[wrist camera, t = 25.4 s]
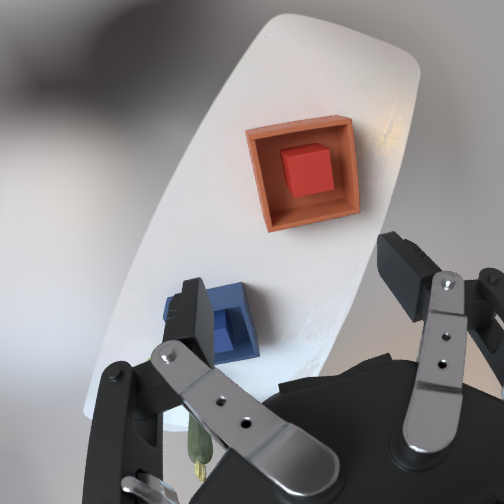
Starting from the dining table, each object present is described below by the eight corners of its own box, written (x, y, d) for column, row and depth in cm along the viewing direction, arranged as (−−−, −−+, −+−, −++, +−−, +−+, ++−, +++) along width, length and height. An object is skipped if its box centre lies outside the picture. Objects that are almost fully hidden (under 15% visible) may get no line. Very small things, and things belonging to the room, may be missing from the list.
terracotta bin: (244, 130, 33) (247, 135, 29) (337, 115, 33) (351, 118, 29) (263, 217, 38) (268, 232, 35) (346, 200, 38) (360, 212, 34)
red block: (279, 149, 34) (286, 157, 30) (316, 142, 34) (329, 149, 30) (285, 185, 36) (294, 198, 32) (322, 178, 36) (334, 189, 32)
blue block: (195, 312, 44) (193, 334, 40) (225, 306, 44) (225, 328, 40) (204, 333, 47) (203, 355, 43) (232, 328, 46) (234, 350, 42)
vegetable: (185, 389, 54) (181, 481, 37) (201, 381, 53) (201, 477, 36) (200, 398, 56) (199, 487, 39) (216, 392, 55) (219, 483, 38)
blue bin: (166, 297, 43) (162, 317, 39) (241, 281, 43) (243, 301, 39) (191, 348, 49) (189, 368, 45) (257, 336, 48) (259, 356, 45)
